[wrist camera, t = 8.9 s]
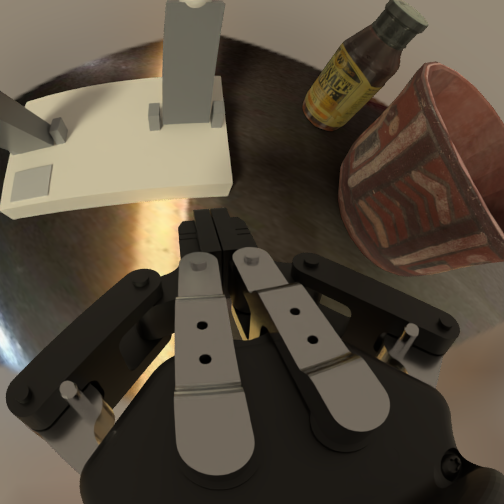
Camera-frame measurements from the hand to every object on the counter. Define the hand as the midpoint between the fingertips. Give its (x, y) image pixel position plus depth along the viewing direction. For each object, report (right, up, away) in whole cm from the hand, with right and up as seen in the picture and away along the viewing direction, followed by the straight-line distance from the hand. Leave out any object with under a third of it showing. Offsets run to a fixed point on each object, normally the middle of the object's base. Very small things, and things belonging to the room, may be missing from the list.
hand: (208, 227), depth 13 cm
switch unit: (-13, +10, +13) cm, 21 cm away
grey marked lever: (-20, +10, +8) cm, 24 cm away
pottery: (+18, +4, +19) cm, 26 cm away
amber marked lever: (-4, +12, +12) cm, 17 cm away
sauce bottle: (+11, +16, +20) cm, 28 cm away
